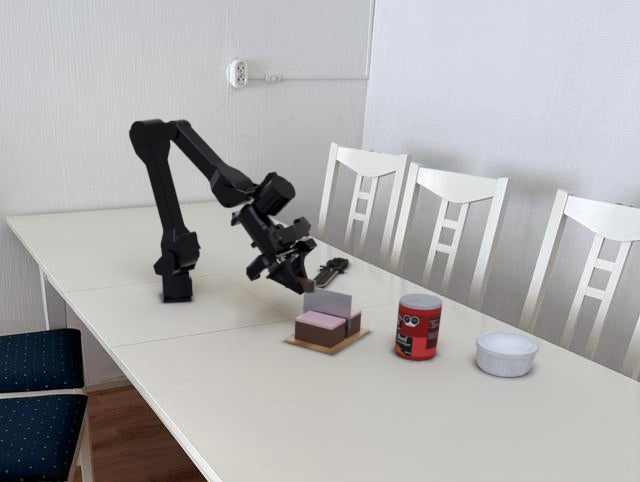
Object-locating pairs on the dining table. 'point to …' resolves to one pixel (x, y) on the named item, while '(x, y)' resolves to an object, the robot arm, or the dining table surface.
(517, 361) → the ramekin
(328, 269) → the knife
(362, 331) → the cake board
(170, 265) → the robot arm
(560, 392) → the dining table surface
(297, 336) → the cake
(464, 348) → the dining table surface
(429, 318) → the canned food
